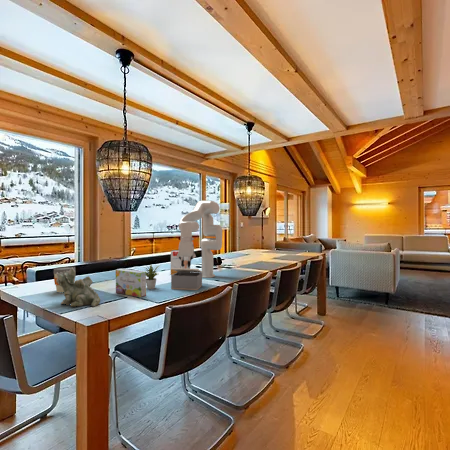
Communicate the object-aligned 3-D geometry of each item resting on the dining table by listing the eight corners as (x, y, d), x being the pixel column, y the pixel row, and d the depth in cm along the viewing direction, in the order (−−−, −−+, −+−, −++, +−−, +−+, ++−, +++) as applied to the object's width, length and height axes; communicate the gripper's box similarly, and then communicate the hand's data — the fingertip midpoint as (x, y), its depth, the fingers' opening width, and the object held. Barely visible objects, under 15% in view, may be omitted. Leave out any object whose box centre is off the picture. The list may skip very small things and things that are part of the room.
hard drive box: (170, 274, 249) (170, 251, 249) (173, 273, 256) (173, 250, 256) (188, 275, 246) (188, 251, 246) (190, 273, 254) (190, 250, 254)
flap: (197, 269, 196) (198, 260, 198) (171, 268, 199) (172, 259, 200) (202, 272, 209) (202, 263, 211) (177, 271, 212) (178, 262, 214)
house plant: (153, 284, 211) (153, 261, 211) (166, 287, 203) (166, 263, 203) (136, 288, 199) (136, 264, 199) (150, 291, 191) (150, 266, 191)
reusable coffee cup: (48, 292, 186) (48, 268, 186) (66, 288, 198) (66, 266, 198) (63, 294, 182) (63, 270, 181) (80, 290, 193) (80, 267, 193)
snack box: (114, 293, 186) (114, 269, 185) (121, 291, 191) (121, 268, 190) (140, 297, 176) (140, 272, 176) (146, 295, 181) (146, 270, 181)
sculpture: (70, 297, 175) (70, 263, 175) (109, 301, 167) (109, 266, 167) (46, 305, 159) (46, 268, 159) (88, 309, 151) (88, 271, 151)
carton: (177, 284, 212) (177, 271, 212) (202, 285, 209) (202, 272, 209) (171, 288, 198) (171, 275, 198) (197, 289, 196) (197, 276, 195)
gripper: (199, 239, 203) (199, 266, 203) (176, 239, 205) (176, 265, 206) (196, 240, 196) (196, 267, 196) (172, 239, 198) (172, 267, 198)
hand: (186, 266), depth 201 cm, fingers closed on flap, 3 cm apart
